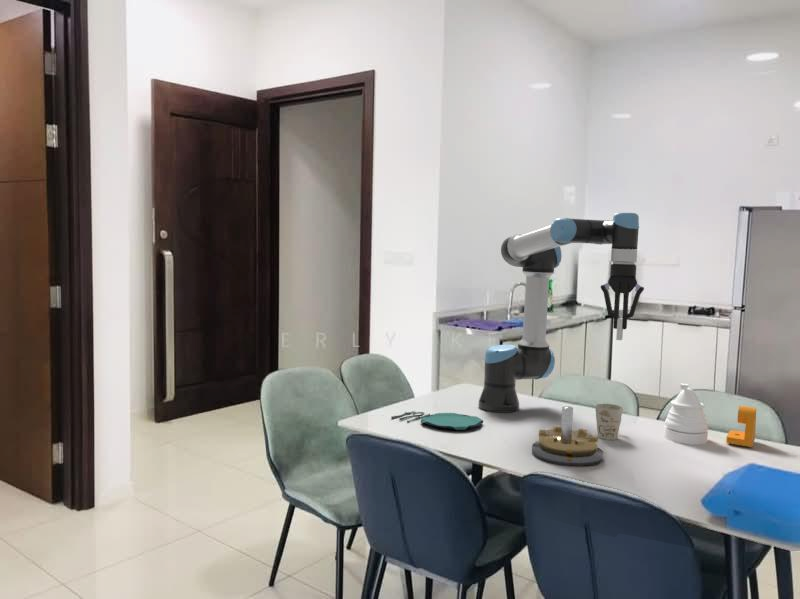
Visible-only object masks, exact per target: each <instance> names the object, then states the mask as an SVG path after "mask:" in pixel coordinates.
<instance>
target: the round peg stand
mask: <svg viewBox="0 0 800 599" xmlns="http://www.w3.org/2000/svg"><path fill="white" fill-rule="evenodd" d="M573 418H574V407H572V406H569V405H568V406H567V405H566V406H565V405H564V406H561V423H560V425H553V427H552V429H541V428H540V429H539V431H538V440H537V441H538V445H539V447H540V448H542V449H543V450H546V451H548V452H552V453H556V454H561V455H570V456H585V455H591V454H594V453H596V452H597V447H599V446H598V443H599V439H598V438H599V437H598V435H594V434H590V433H588V429H585V428H579V429H578V430H574V429H573V420H574V419H573Z"/></svg>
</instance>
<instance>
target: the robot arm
mask: <svg viewBox="0 0 800 599" xmlns="http://www.w3.org/2000/svg"><path fill="white" fill-rule="evenodd" d="M639 218H640V217H639V214H637V213H635V212H616V213H614V214H613V217H612V219H611V220H608V219H607V220H605V219H604V220H603V219H602V220H601V219H581V218H569V217H563V218H556V219H554V220H553V222H552V223H551V224H550V225H548V226H545V227H543V228H539V229H537V230H534V231H530V232H528V233H525V234H521V233H518V234H514V235H513V234H512V235H510V236H508V237H507V238H505V239H504V240H503V242H502V244H501V245H500V246H501V247H500V254H501V256H502V259H503V260H504V262H505V263H507V264H508V265H510V266H513V267H516V268H522V273H523V274H524V276H525V290H524V291H525V292H524V309H523V323H522V324H523V325H522V338H521V339H520V341H518V343H517V346H516V345H514V344H497V345H493V346H490V347H488V348H487V349H486V350H485V356H484V374H483V375H484V376H483V378H484V379H483V380H484V381H483V384H484V385H483V388H482V390H481V394H480V395H479V396H480V397H479V399H478V408H479V409H481V410H483V411H486V412H487V411H488V412H494V413H513V412H517V411H519V409H520V400H519V397H518V394H517V390H516V382H517V380H518V381H519V380H540V379H546V378H547V377H549V376H550V375H551V374H552V373H553V370H554V368H555V363H556V358H555V355H554V354H555V353H554V351H553V350H552V349H551V348H550V344H549V343H548V342H547V340H546V339H547V338H546V337H547V336H546V335H547V323H548V321H547V320H548V304H549V289H550V288H549V287H550V278H551V276H552V275H553V274H554V273H555V269H556V268H558V267H559V266H560V263H561V262H562V257H563V256H562V248H561V247H562V246H566V245H570V244H575V243H576V244H592V245H593V244H594V245H611V252H610V254H611V255H610V262H611V264H610V272H609V278H608V280H607V282H606V283H605V284H601V285H600V289H601V290H602V293H603V296H604V297H603V298H604V301H605V307H606V312H607V316H609V317H611V318H613V325H612V326H613V330H616V338H615V340H616V341H622V340H623V337H624V336H623V335H624V334H623V333H624V330H627V327H628V319H630V318H633V317H634V315H635V312H636V309H637V306H638V303H639V300H640V297H641V294H642V293H643V291H644V290H645V287H644V286H641V285H640V284H639V283H638V280H637V277H636V276H637V265H636V263H637V261H638V260H637V259H638V244H639V228H640V222H639V220H640V219H639ZM610 288H611V290H612V291H613V292H614V302H613V303H614V304H613V306H614V307H612V303H611V297H610V292H609V290H610ZM634 288H635V295H634V298H633V301H632V303H631V307H630V311H629V300H630V299H629V297H630V293H631V292H632V291H633V290H634ZM621 294H623V297H622V298H623V301H622V317H621V318H619V317H620V303H621V302H620V301H621V300H620V299H621Z"/></svg>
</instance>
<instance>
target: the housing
mask: <svg viewBox="0 0 800 599" xmlns="http://www.w3.org/2000/svg"><path fill="white" fill-rule="evenodd" d="M531 454H532V456H533V457H535V458H536V459H538V460H540V461H543V462H546V463H548V464H553V465H557V466H564V467H565V466H566V467H579V468H580V467H581V468H582V467H583V468H584V467H593V466H597V465H599V464H601V463H603V461H604V450H603V449H602V448H600V447H599V446H597V452H596V453H594V454H591V455H585V456H570V455H561V454H556V453H552V452H548V451H546V450H543V449H542V448H540V447H539V445H538V440H537V441H535V442H534V443H532V446H531Z"/></svg>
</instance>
